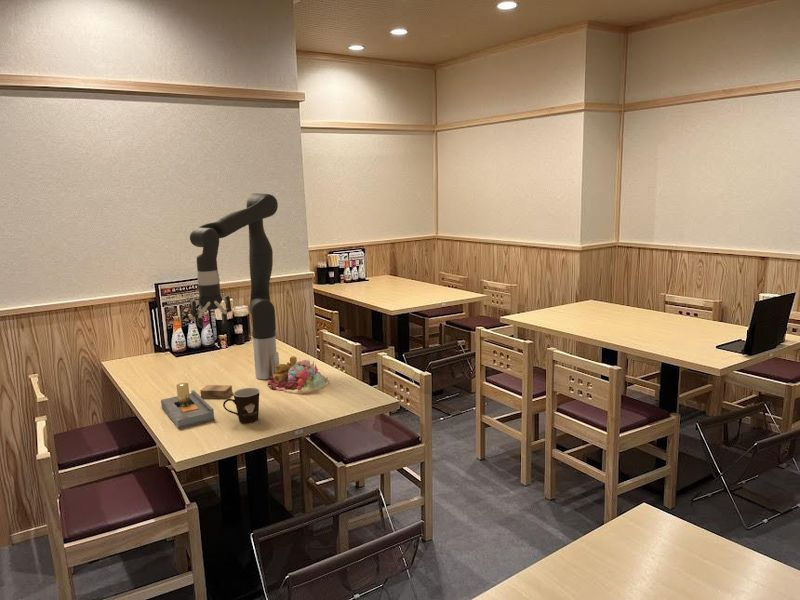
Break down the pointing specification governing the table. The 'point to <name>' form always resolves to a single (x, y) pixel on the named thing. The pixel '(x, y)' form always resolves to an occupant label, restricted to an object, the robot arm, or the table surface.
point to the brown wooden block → (216, 391)
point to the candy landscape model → (297, 377)
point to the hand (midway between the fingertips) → (212, 325)
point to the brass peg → (183, 394)
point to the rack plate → (188, 411)
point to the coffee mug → (246, 405)
